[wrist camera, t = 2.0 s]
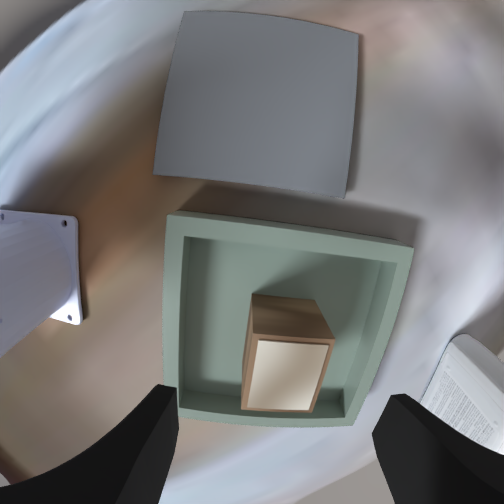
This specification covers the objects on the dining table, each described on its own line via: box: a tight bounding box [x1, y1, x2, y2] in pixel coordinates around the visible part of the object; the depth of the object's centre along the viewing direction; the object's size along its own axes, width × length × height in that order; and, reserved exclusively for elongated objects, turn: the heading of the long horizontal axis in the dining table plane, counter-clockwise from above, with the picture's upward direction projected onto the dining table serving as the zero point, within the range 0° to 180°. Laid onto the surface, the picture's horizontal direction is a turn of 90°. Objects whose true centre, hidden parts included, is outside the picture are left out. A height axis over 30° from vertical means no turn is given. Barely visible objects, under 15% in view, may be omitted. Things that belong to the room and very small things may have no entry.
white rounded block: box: [420, 334, 504, 455], centre depth 15 cm, size 10×4×12 cm, turn 175°
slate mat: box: [153, 11, 359, 199], centre depth 15 cm, size 11×11×1 cm
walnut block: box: [241, 293, 336, 413], centre depth 16 cm, size 4×5×5 cm
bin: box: [162, 210, 414, 427], centre depth 18 cm, size 14×14×2 cm
